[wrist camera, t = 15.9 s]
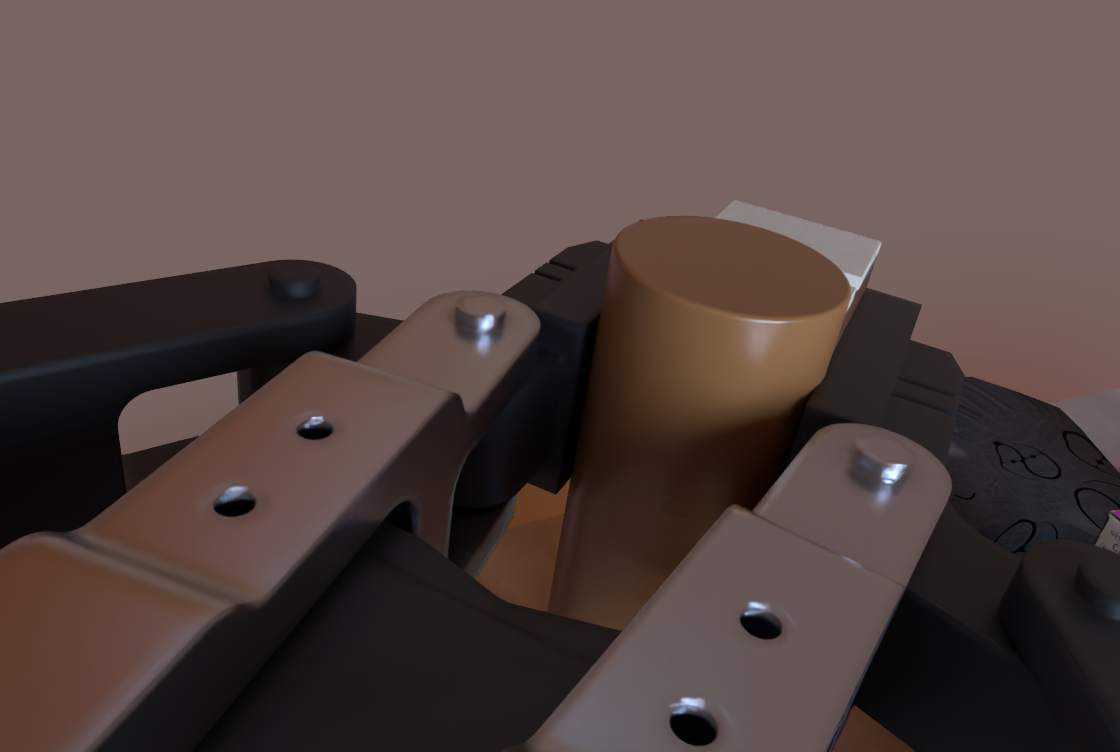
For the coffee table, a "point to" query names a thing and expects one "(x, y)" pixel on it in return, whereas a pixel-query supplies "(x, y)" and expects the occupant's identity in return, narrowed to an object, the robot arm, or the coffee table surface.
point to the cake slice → (816, 242)
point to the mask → (1026, 470)
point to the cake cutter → (687, 399)
